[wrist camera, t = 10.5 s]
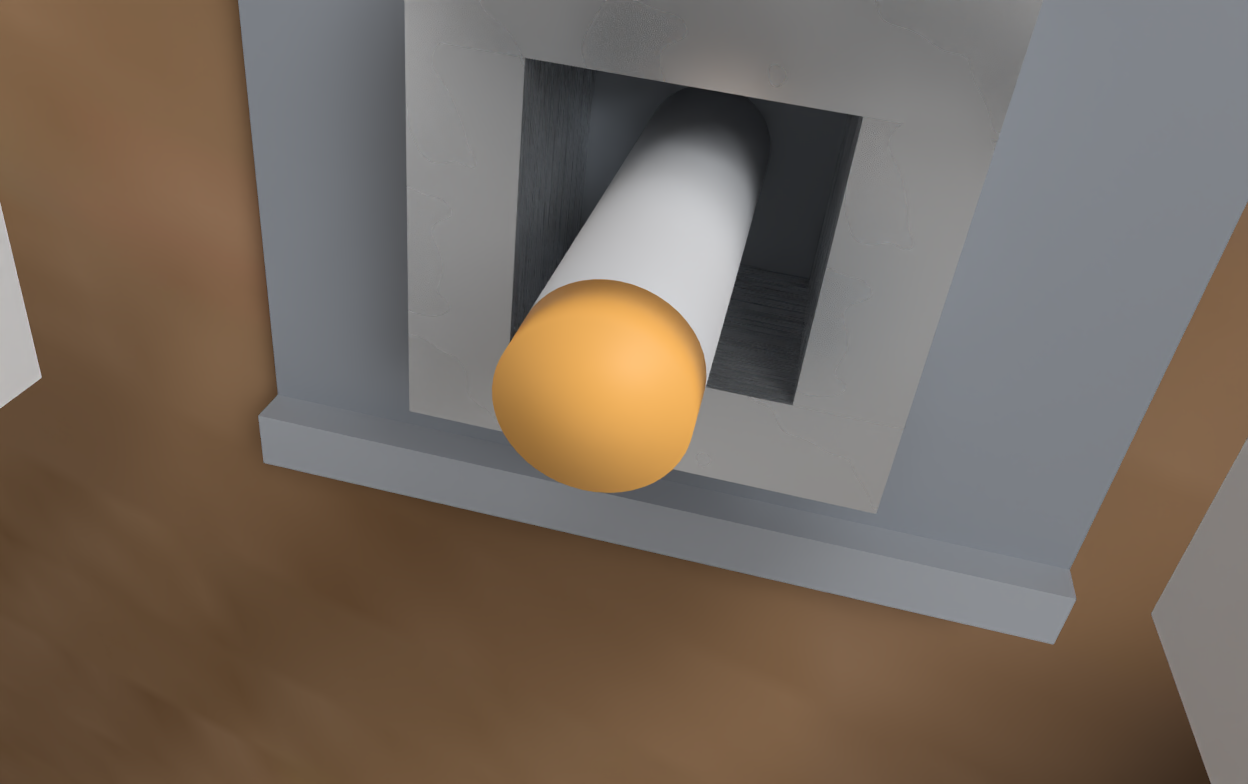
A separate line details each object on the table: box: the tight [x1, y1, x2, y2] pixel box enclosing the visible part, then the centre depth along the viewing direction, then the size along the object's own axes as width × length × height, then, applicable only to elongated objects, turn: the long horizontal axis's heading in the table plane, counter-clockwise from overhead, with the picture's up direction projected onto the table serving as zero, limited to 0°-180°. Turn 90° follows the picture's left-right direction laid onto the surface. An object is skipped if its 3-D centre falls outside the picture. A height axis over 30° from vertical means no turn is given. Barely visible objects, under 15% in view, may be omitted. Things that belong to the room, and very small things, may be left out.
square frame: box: [404, 0, 1043, 514], centre depth 14 cm, size 7×7×4 cm
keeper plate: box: [238, 0, 1248, 644], centre depth 13 cm, size 16×16×9 cm
